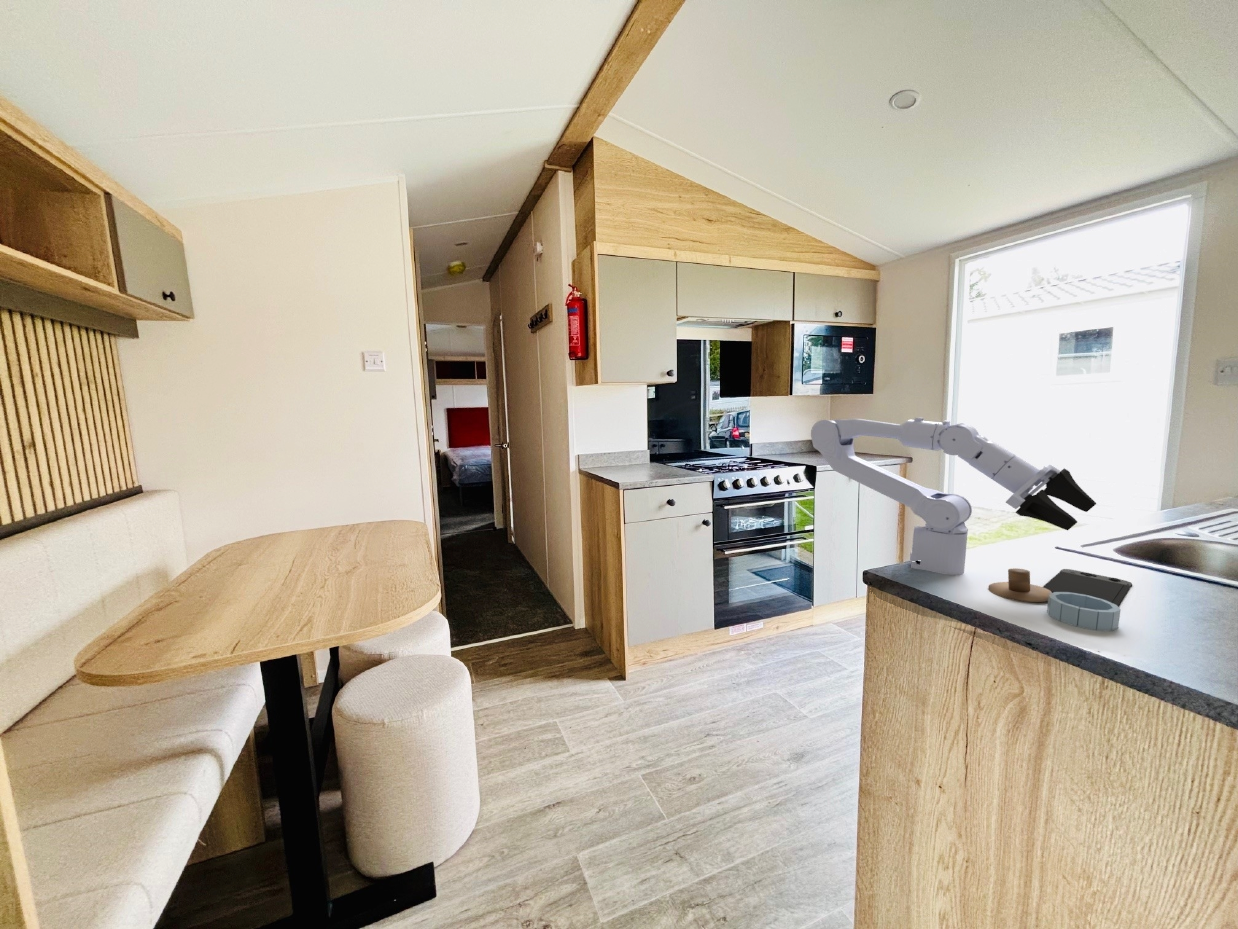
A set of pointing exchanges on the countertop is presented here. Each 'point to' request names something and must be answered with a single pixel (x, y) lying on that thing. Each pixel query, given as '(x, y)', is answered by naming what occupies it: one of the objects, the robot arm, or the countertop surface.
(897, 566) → the countertop surface
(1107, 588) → the gaming console
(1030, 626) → the countertop surface
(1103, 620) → the bowl
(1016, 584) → the lid
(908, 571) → the countertop surface
